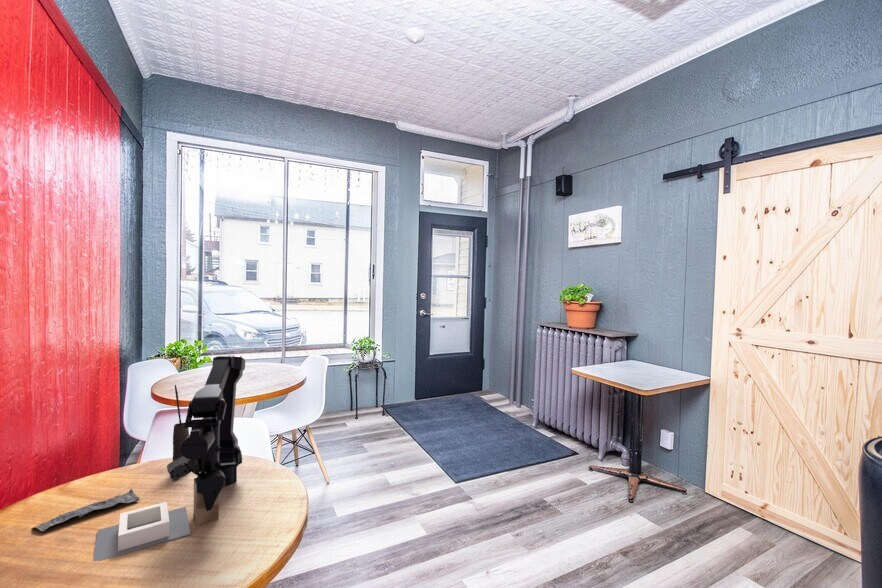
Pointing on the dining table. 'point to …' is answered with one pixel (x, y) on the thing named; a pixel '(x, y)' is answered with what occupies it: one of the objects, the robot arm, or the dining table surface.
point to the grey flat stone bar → (90, 509)
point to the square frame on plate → (141, 530)
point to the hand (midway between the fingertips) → (206, 501)
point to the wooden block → (204, 509)
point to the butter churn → (178, 434)
